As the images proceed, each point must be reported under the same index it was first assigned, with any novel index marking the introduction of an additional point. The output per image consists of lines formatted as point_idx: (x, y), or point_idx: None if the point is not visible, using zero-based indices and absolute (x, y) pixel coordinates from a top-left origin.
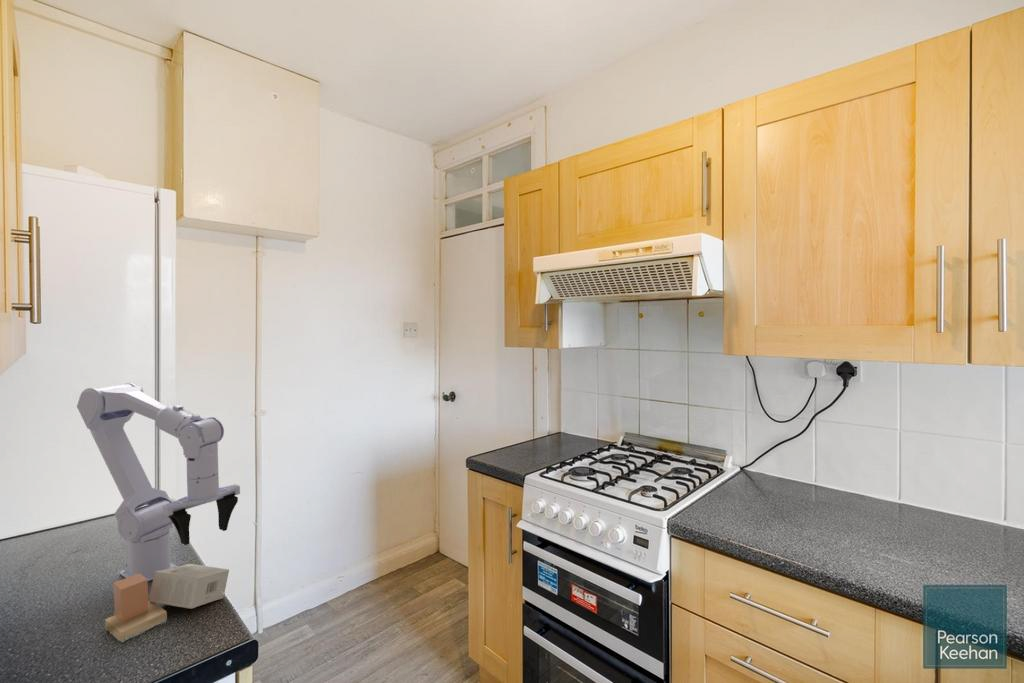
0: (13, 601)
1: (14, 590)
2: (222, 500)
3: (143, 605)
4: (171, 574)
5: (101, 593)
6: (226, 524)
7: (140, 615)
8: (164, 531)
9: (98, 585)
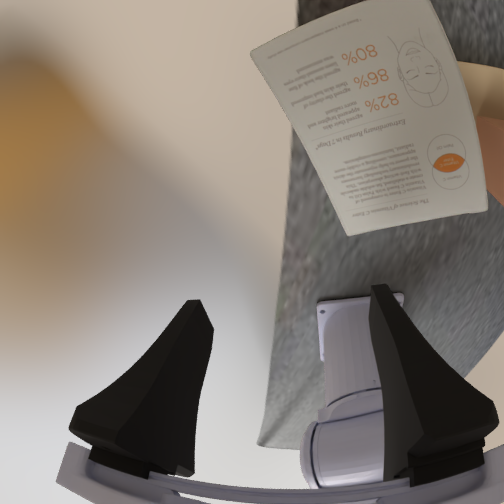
0: (482, 354)
1: (463, 375)
2: (159, 459)
3: (497, 123)
4: (476, 129)
5: (441, 308)
6: (179, 320)
7: (493, 110)
8: (348, 403)
9: (426, 336)
